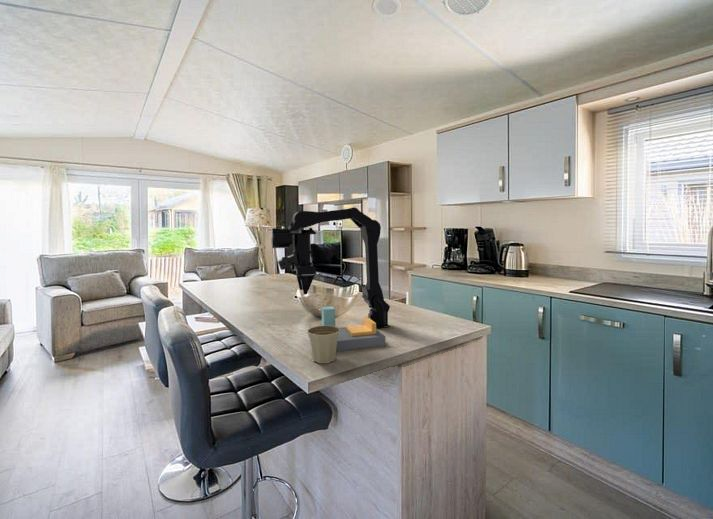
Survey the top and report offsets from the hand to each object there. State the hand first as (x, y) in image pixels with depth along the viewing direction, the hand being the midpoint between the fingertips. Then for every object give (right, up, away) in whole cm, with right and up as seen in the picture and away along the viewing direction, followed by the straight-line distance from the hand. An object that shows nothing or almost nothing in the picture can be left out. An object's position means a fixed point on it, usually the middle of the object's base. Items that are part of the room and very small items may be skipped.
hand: (303, 292), depth 128 cm
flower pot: (+9, -17, -25) cm, 32 cm away
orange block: (+20, -12, -8) cm, 25 cm away
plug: (+9, -15, +1) cm, 17 cm away
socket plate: (+16, -15, -9) cm, 24 cm away
